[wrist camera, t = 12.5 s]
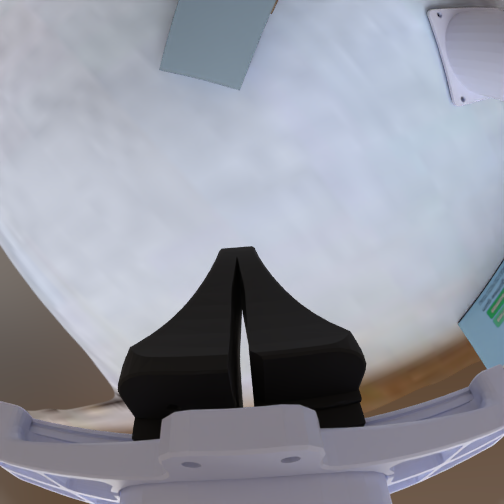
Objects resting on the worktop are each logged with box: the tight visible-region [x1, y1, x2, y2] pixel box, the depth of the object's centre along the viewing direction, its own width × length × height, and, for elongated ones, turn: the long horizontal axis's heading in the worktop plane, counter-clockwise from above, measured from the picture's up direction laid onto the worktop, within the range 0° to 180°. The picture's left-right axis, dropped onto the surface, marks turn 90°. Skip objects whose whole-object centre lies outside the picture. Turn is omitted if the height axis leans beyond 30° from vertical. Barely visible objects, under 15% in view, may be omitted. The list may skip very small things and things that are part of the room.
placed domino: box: [160, 0, 276, 90], centre depth 14 cm, size 2×5×8 cm
